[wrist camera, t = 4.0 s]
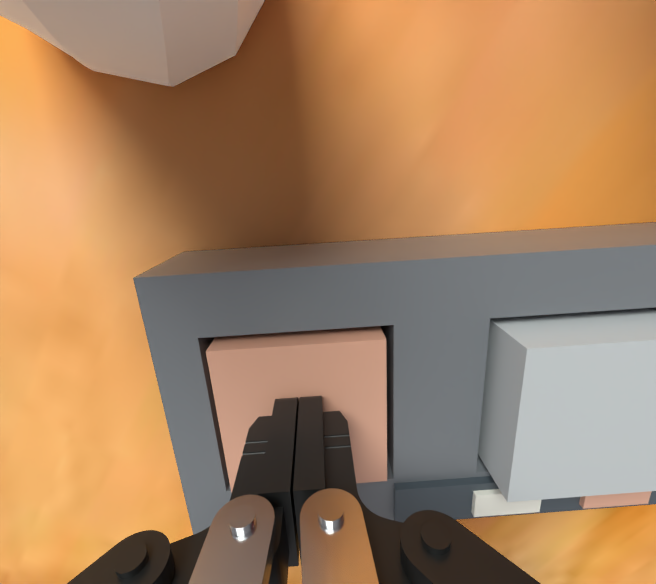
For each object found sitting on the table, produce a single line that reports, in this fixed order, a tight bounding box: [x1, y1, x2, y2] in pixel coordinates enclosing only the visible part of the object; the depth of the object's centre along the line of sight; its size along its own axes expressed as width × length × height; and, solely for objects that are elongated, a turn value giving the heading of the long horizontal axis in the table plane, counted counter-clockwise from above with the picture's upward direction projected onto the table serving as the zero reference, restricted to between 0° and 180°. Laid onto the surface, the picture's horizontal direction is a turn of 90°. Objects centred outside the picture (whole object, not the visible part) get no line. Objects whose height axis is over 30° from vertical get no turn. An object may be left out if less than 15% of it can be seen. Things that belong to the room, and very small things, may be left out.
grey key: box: [478, 308, 656, 502], centre depth 12 cm, size 5×5×3 cm
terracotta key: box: [206, 326, 387, 493], centre depth 13 cm, size 5×5×3 cm
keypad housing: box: [133, 222, 656, 534], centre depth 13 cm, size 27×10×4 cm, turn 93°
